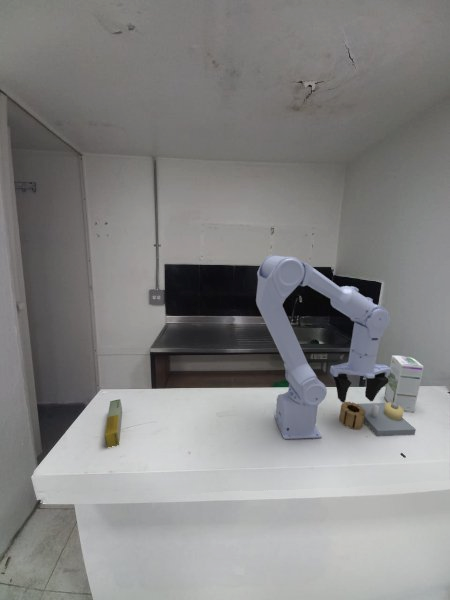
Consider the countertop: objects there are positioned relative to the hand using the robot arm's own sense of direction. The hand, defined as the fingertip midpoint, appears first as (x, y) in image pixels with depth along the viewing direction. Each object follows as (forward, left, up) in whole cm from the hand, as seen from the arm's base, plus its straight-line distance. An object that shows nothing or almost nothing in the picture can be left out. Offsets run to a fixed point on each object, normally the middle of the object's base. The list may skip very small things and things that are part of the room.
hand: (355, 399), depth 60 cm
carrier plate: (+8, 0, -7) cm, 11 cm away
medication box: (-61, +1, -7) cm, 61 cm away
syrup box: (+18, +6, -7) cm, 21 cm away
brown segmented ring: (0, 0, -7) cm, 7 cm away
